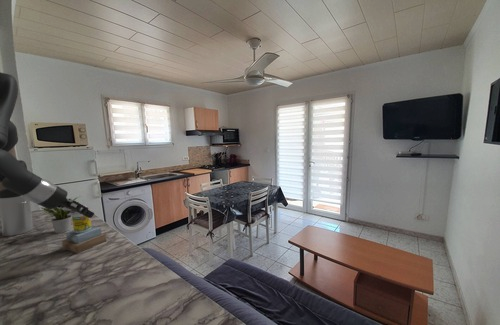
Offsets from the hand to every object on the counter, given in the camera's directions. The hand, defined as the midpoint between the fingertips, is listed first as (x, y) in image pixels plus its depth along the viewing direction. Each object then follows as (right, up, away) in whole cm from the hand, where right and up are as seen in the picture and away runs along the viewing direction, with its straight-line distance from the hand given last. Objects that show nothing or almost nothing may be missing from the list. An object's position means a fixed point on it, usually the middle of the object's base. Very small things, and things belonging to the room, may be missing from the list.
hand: (85, 214), depth 80 cm
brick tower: (0, -12, 0) cm, 12 cm away
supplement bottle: (-1, -6, -1) cm, 7 cm away
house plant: (-22, -11, +14) cm, 28 cm away
